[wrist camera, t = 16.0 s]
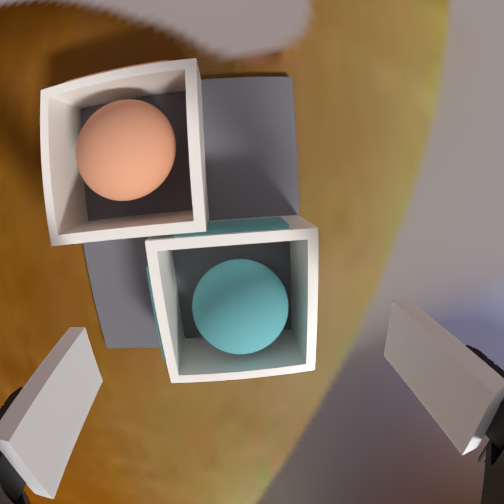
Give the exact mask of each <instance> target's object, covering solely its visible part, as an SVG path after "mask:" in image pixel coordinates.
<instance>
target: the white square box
mask: <svg viewBox="0 0 504 504" xmlns="http://www.w3.org/2000/svg"><path fill="white" fill-rule="evenodd" d="M180 91H186V111H187V132H188V150H189V166H190V180H191V193H192V206H193V210H186V211H175V212H164V213H154V214H144V215H135V216H126V217H117V218H108V219H100V220H92V221H88V214H87V206H86V197H85V187H84V180H83V178H82V176H81V174H80V172H79V169H78V166H77V161H76V146H77V141H78V137H79V134H80V132H81V109H82V108H86V107H90V106H95V105H99V104H104V103H109V102H114V101H119V100H124V99H130V98H136V97H142V96H149V95H156V94H163V93H171V92H180ZM40 147H41V166H42V179H43V190H44V200H45V208H46V216H47V222H48V228H49V235H50V241H51V246H58V245H67V244H77V243H86V242H96V241H106V240H116V239H126V238H137V237H148V236H159V235H171V234H182V233H194V232H206V230H207V226H208V221H209V206H208V193H207V179H206V163H205V147H204V129H203V109H202V85H201V77H200V73H199V68H198V63H197V59H196V58H192V59H182V60H174V61H168V60H161V61H154V62H148V63H142V64H136V65H131V66H125V67H120V68H115V69H111V70H106V71H102V72H98V73H93V74H89V75H85V76H82V77H78V78H74V79H71V80H67V81H65V83H62V84H59V85H56V86H52V87H49V88H46V89H43V90H41V102H40Z"/></svg>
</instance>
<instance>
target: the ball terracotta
mask: <svg viewBox="0 0 504 504" xmlns="http://www.w3.org/2000/svg"><path fill="white" fill-rule="evenodd" d="M175 155H176V138H175V134H174V131H173V128H172V126H171V124H170V122H169V120H168V119H167V117H166V116H165V115H164V114H163V113H162V112H161V111H160V110H159V109H157V108H156V107H154V106H153V105H151V104H149V103H147V102H144V101H140V100H134V99H124V100H119V101H115V102H111V103H109V104H107V105H105V106H103V107H101V108H100V109H99V110H97V111H96V112H95V113H94V114H93V115H92V116H91V117H90V118H89V119H88V120H87V121H86V123H85V124H84V126H83V128H82V130H81V132H80V134H79V137H78V141H77V146H76V161H77V166H78V169H79V172H80V174H81V176H82V178H83V180H84V181H85V183H86V184H87V185H88V186H89V187H90V188H91V189H92V190H93V191H94V192H96V193H97V194H99V195H101V196H103V197H105V198H108V199H111V200H117V201H130V200H135V199H138V198H141V197H143V196H145V195H147V194H149V193H151V192H152V191H154V190H155V189H156V188H157V187H159V186H160V185H161V184H162V182H163V181H164V180H165V179H166V177H167V176H168V174H169V172H170V171H171V168H172V166H173V163H174V160H175Z"/></svg>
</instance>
